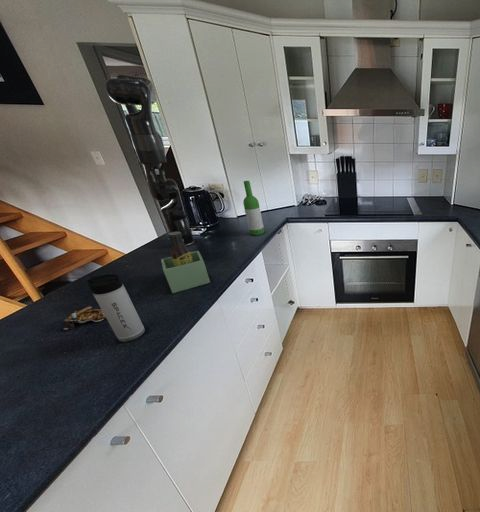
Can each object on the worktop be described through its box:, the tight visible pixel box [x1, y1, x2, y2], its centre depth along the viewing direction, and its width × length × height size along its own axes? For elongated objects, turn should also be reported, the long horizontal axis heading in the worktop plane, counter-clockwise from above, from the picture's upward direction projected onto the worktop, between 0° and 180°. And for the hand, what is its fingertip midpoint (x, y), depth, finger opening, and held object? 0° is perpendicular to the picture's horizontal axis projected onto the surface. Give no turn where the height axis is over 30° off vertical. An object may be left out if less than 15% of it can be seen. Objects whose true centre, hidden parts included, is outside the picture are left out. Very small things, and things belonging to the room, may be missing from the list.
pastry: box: [62, 306, 107, 331], centre depth 88 cm, size 7×12×4 cm, turn 125°
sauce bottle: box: [167, 232, 193, 267], centre depth 105 cm, size 6×6×20 cm
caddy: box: [160, 250, 211, 294], centre depth 108 cm, size 12×13×10 cm
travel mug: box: [86, 273, 146, 343], centre depth 78 cm, size 6×7×20 cm
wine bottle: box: [242, 180, 265, 236], centre depth 151 cm, size 8×8×30 cm
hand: (165, 195), depth 100 cm, fingers open, 8 cm apart
